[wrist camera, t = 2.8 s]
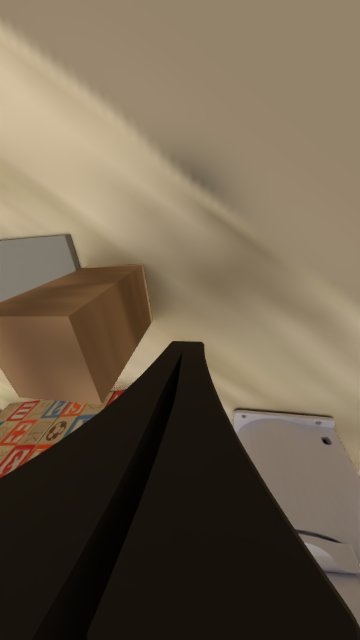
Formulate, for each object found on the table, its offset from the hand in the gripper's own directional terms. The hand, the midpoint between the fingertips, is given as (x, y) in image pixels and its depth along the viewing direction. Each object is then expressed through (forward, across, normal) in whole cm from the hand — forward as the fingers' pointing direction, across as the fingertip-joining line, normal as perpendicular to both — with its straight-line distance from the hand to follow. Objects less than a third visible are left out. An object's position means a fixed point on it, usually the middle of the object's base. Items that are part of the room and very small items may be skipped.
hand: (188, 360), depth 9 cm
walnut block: (+8, +7, 0) cm, 11 cm away
